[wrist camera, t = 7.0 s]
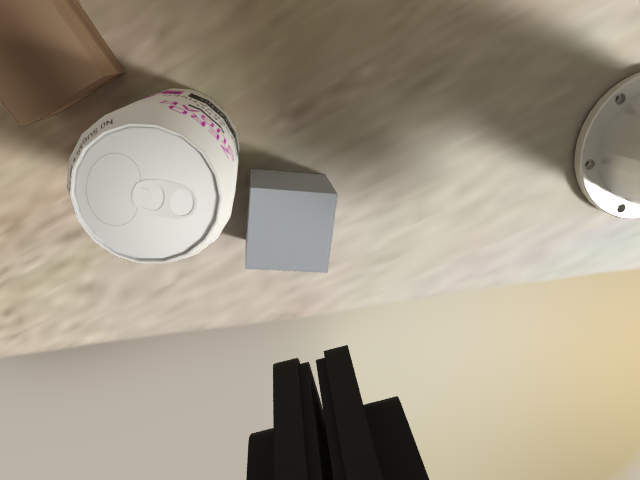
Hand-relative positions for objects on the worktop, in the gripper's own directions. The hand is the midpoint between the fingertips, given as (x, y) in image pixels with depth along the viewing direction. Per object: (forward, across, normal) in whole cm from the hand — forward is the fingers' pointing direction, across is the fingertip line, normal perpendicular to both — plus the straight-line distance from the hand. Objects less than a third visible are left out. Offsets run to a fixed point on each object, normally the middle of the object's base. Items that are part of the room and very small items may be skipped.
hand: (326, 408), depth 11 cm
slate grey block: (+30, +1, +4) cm, 31 cm away
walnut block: (+30, +13, -10) cm, 34 cm away
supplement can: (+30, +7, -2) cm, 31 cm away
